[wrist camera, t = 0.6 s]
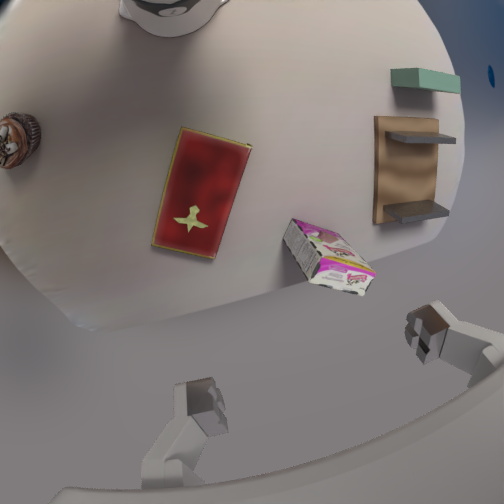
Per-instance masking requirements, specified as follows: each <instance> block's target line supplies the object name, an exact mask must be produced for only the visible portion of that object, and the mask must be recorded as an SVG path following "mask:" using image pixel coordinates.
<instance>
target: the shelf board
mask: <svg viewBox="0 0 504 504" xmlns="http://www.w3.org/2000/svg"><path fill="white" fill-rule="evenodd" d="M374 122H375V181H374V207H373V222H374V223H376V224H379V223H386V222H392V221H397V220H396V219H394V218H393V217H392V216H390V215H389V214H387V213H386V212H384V211H383V205H388V204H396V203H404V202H412V201H420V200H429V199H430V200H432V201H434V198H435V188H436V176H437V162H438V143H404V142H401V141H397V140H394V139H390V138H387V137H385V131H418V132H435V133H439V120H438V119H430V118H416V117H395V116H374Z"/></svg>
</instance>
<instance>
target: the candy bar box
mask: <svg viewBox="0 0 504 504" xmlns="http://www.w3.org/2000/svg"><path fill="white" fill-rule="evenodd" d="M283 240H284V242H285V243H286V245H287V247H288V248H289V250H290V251H291V253H292V255H293V256H294V258H295V260H296V262H297V263H298V265H299V266H300V268H301V270H302V272H303V273H304V275H305V277H306V278H307V280H308V282H309V283H312V284H316V285H320V286H324V287H328V288H332V289H336V290H340V291H344V292H348V293H352V294H356V295H360V296H364V294H365V292H366V291H367V289H368V287H369V285H370V283H371V281H372V280H373V279H374V277H375V274H376V272H375V271H374V270H373V269H372V268H371V267H370V266H369V265H368V264H367V263H366V262H365V260H364V259H363V258H362V257H361V256H360V255H359V254H358V253H357V252H356V251H355V250H354V249H353V248H352V247H351V246H350V245H349V244H348V243H347V242H346V241H345V240H344V239H343V238H342V237H341V236H340V235H339V234H338V233H335V232H332V231H329V230H326V229H323V228H320V227H317V226H314V225H311V224H308V223H305V222H302V221H299V220H296V219H293V218H292V220H291V222H290V224H289V227H288V229H287V231H286V233H285V235H284V238H283Z"/></svg>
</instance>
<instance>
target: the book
mask: <svg viewBox="0 0 504 504" xmlns="http://www.w3.org/2000/svg"><path fill="white" fill-rule="evenodd" d="M391 83H392V86H396V87H406V88H415V89H423V90H430V91H437V92H447V93H456V94H461V92H460V77H459V76H456V75H451V74H447V73H442V72H437V71H432V70H427V69H421V68H405V69H391Z"/></svg>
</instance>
